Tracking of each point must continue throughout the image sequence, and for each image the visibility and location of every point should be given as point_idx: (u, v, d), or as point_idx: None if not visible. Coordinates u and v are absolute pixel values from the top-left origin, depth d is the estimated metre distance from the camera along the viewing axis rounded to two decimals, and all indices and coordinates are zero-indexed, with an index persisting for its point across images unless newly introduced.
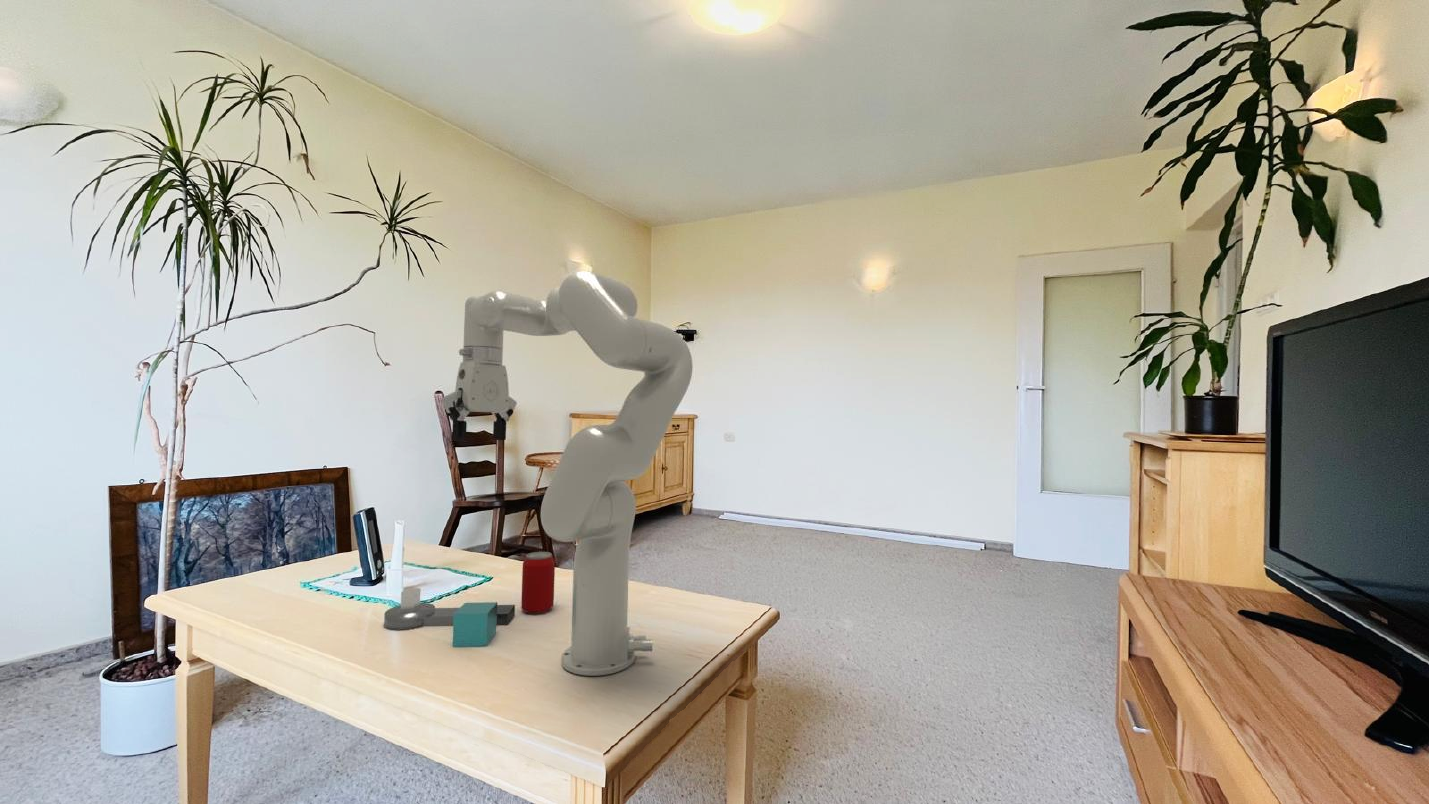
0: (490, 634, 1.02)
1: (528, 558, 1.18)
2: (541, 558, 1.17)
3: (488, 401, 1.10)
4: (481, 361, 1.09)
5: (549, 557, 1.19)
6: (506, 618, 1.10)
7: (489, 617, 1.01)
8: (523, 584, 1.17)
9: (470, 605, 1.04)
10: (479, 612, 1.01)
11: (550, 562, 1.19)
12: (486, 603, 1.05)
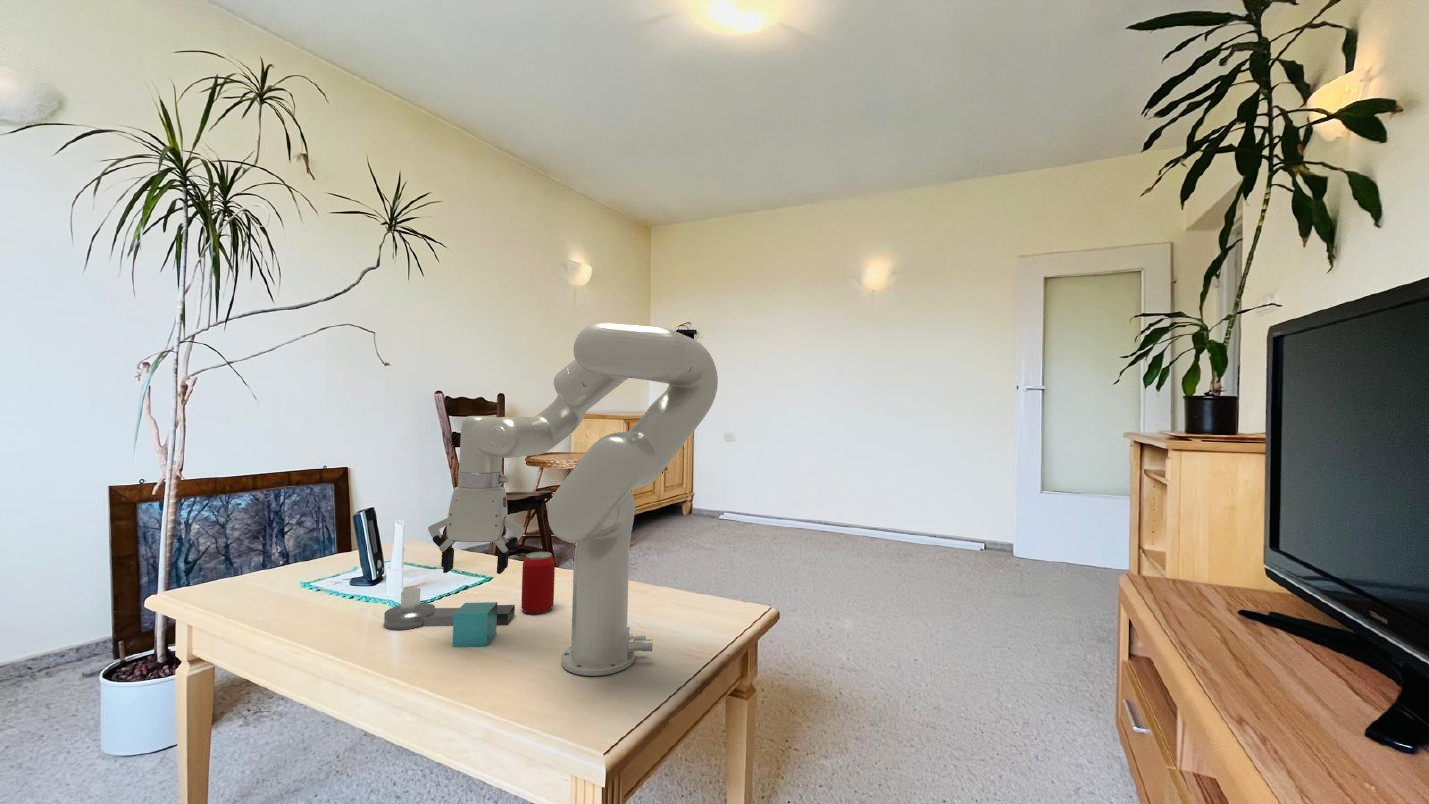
0: (490, 634, 1.02)
1: (528, 558, 1.18)
2: (541, 558, 1.17)
3: None
4: None
5: (549, 557, 1.19)
6: (506, 618, 1.10)
7: (489, 617, 1.01)
8: (523, 584, 1.17)
9: (470, 605, 1.04)
10: (479, 612, 1.01)
11: (550, 562, 1.19)
12: (486, 603, 1.05)
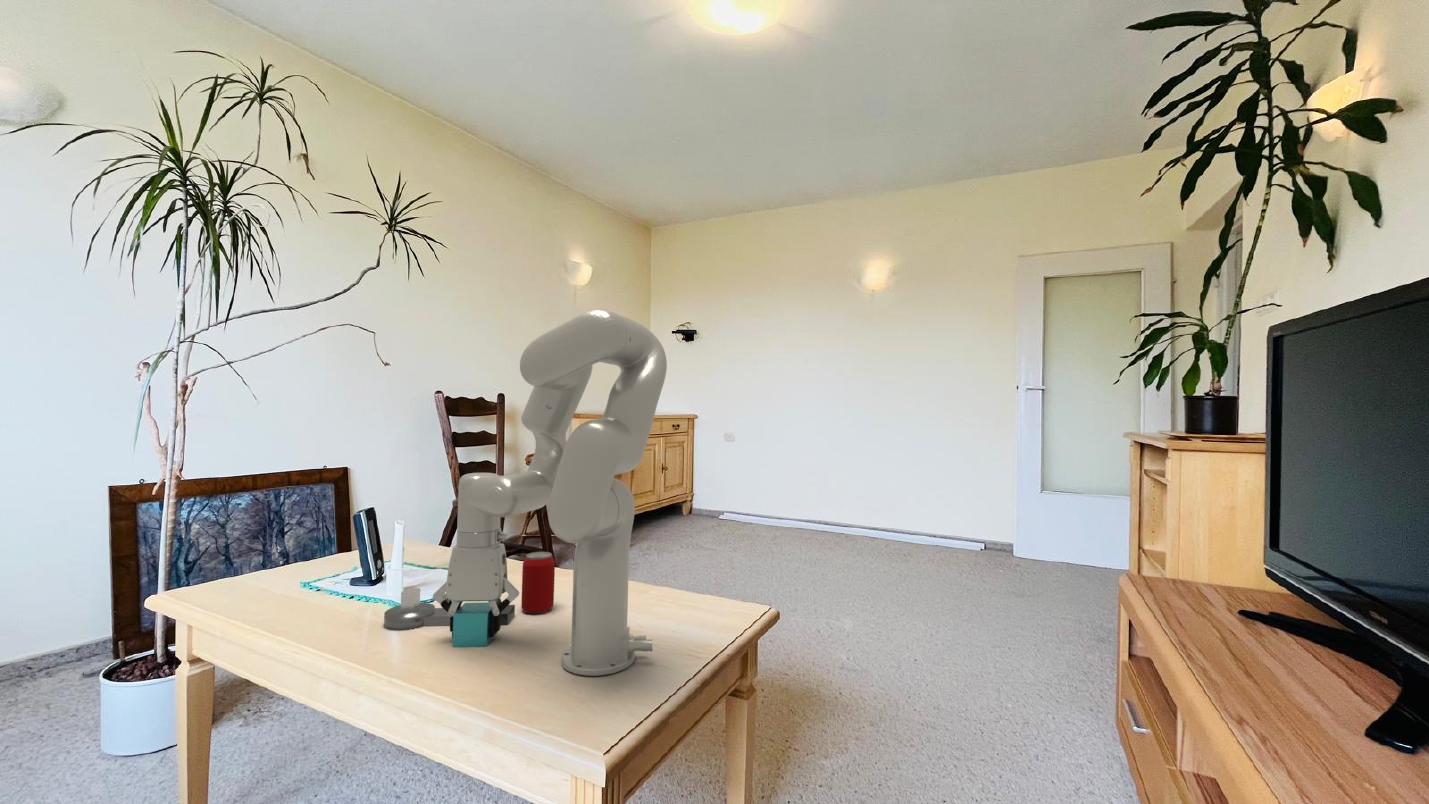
0: None
1: (528, 558, 1.18)
2: (541, 558, 1.17)
3: None
4: None
5: (549, 557, 1.19)
6: (506, 618, 1.10)
7: (489, 617, 1.01)
8: (523, 584, 1.17)
9: (470, 605, 1.04)
10: (479, 612, 1.01)
11: (550, 562, 1.19)
12: (486, 603, 1.05)
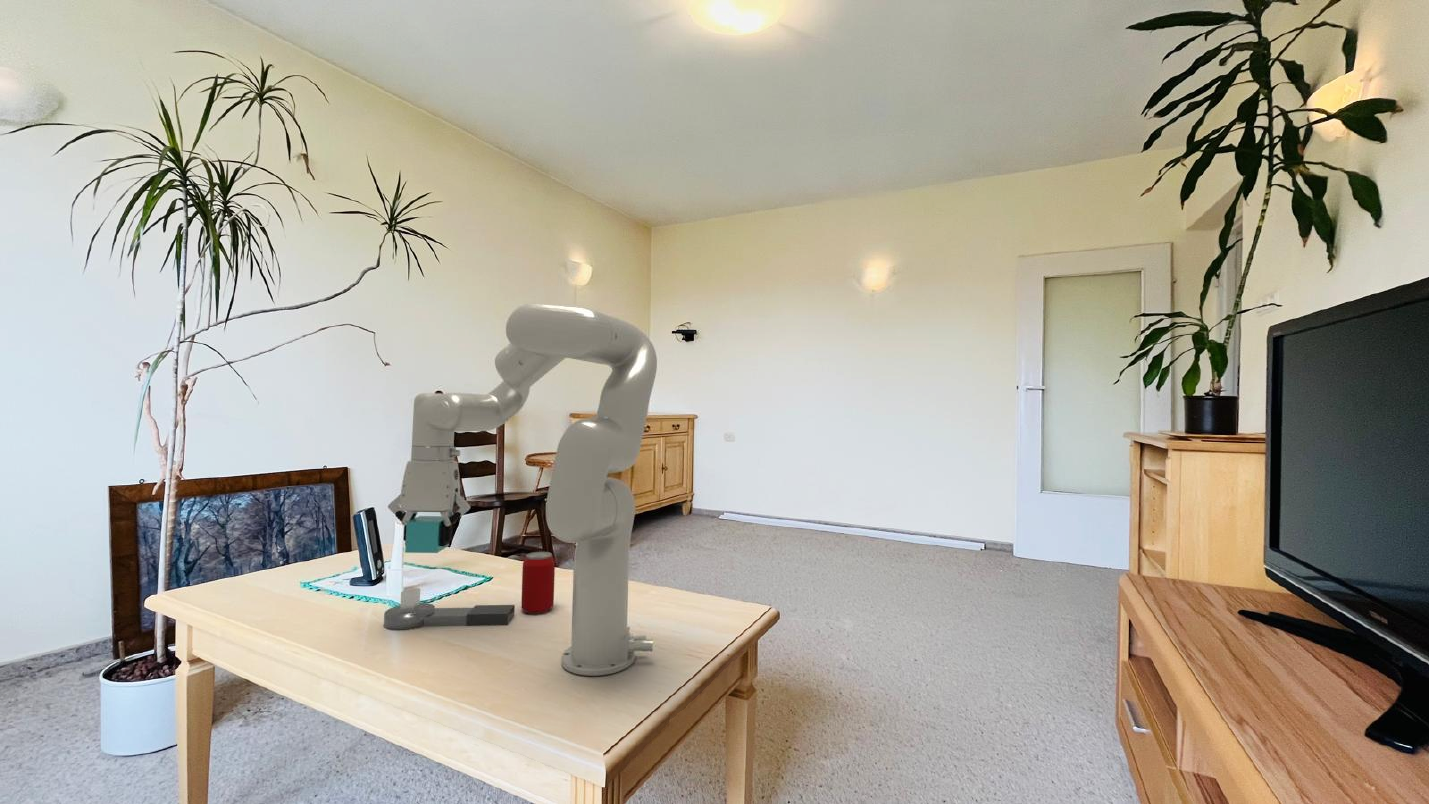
0: None
1: (528, 558, 1.18)
2: (541, 558, 1.17)
3: None
4: None
5: (549, 557, 1.19)
6: (506, 618, 1.10)
7: (440, 527, 1.08)
8: (523, 584, 1.17)
9: (424, 517, 1.11)
10: (431, 521, 1.07)
11: (550, 562, 1.19)
12: (440, 517, 1.12)
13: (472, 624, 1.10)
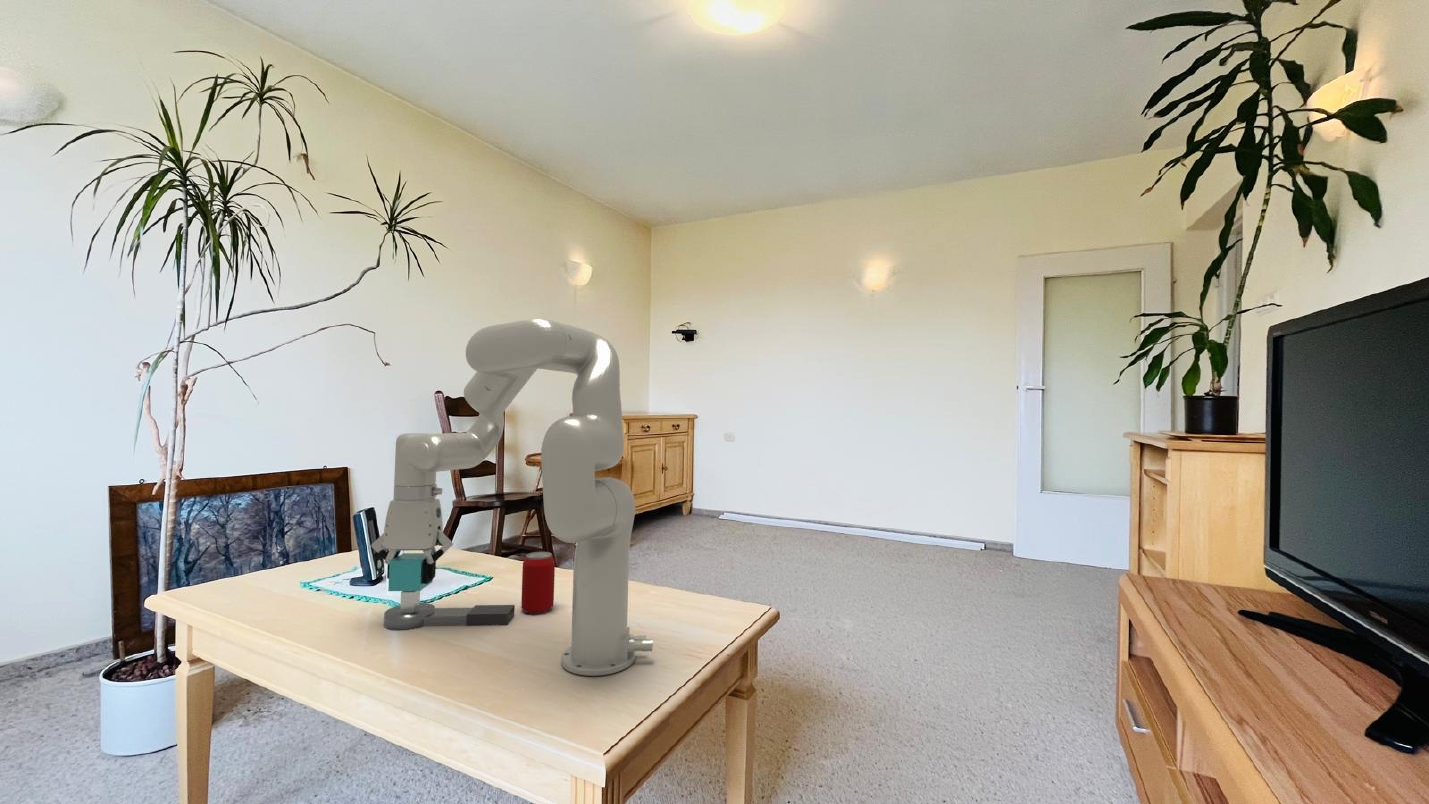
0: None
1: (528, 558, 1.18)
2: (541, 558, 1.17)
3: None
4: None
5: (549, 557, 1.19)
6: (506, 618, 1.10)
7: (423, 565, 1.10)
8: (523, 584, 1.17)
9: (407, 555, 1.13)
10: (414, 559, 1.09)
11: (550, 562, 1.19)
12: (423, 554, 1.14)
13: (472, 624, 1.10)
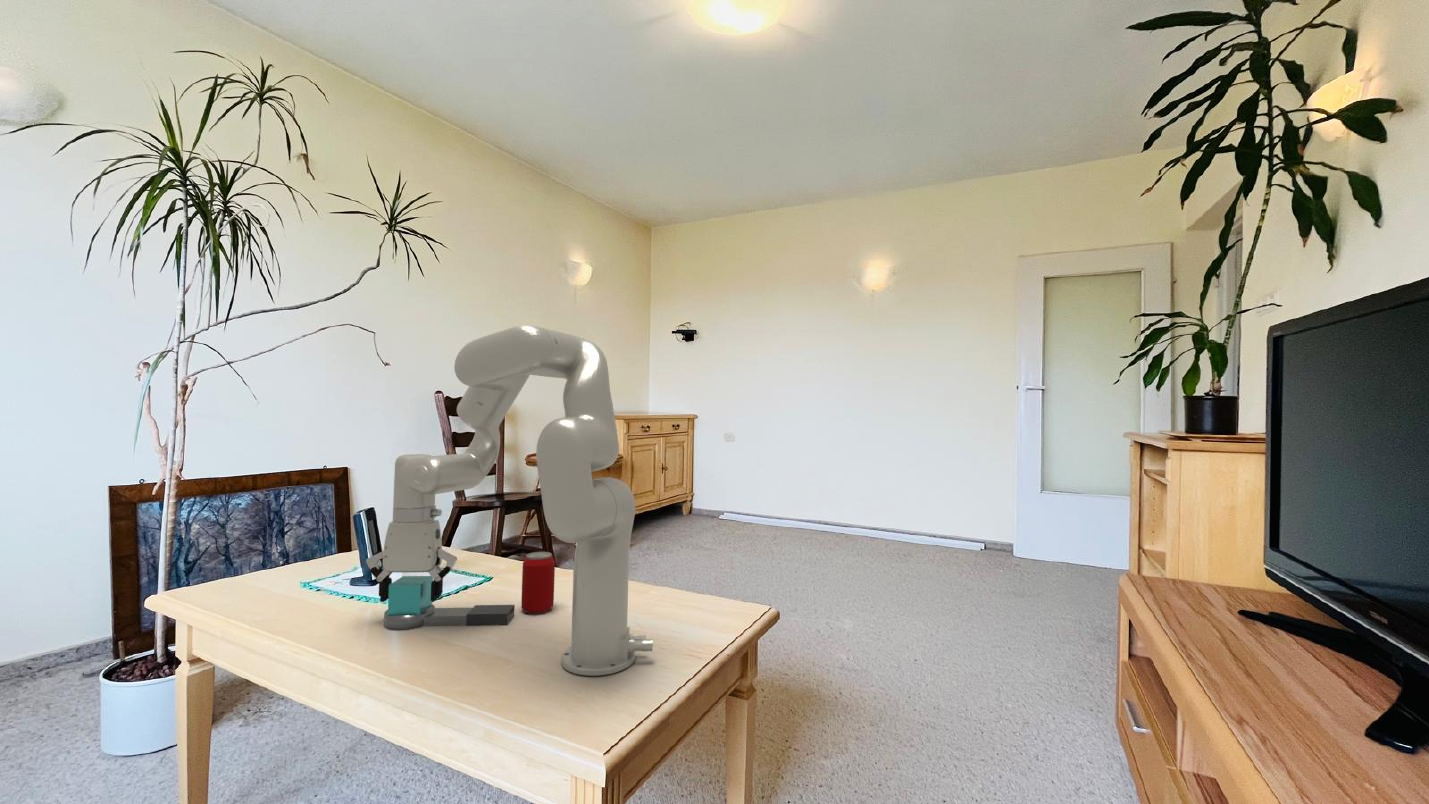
0: (424, 605, 1.10)
1: (528, 558, 1.18)
2: (541, 558, 1.17)
3: None
4: None
5: (549, 557, 1.19)
6: (506, 618, 1.10)
7: (423, 588, 1.10)
8: (523, 584, 1.17)
9: (407, 578, 1.12)
10: (413, 583, 1.09)
11: (550, 562, 1.19)
12: (422, 577, 1.13)
13: (472, 624, 1.10)
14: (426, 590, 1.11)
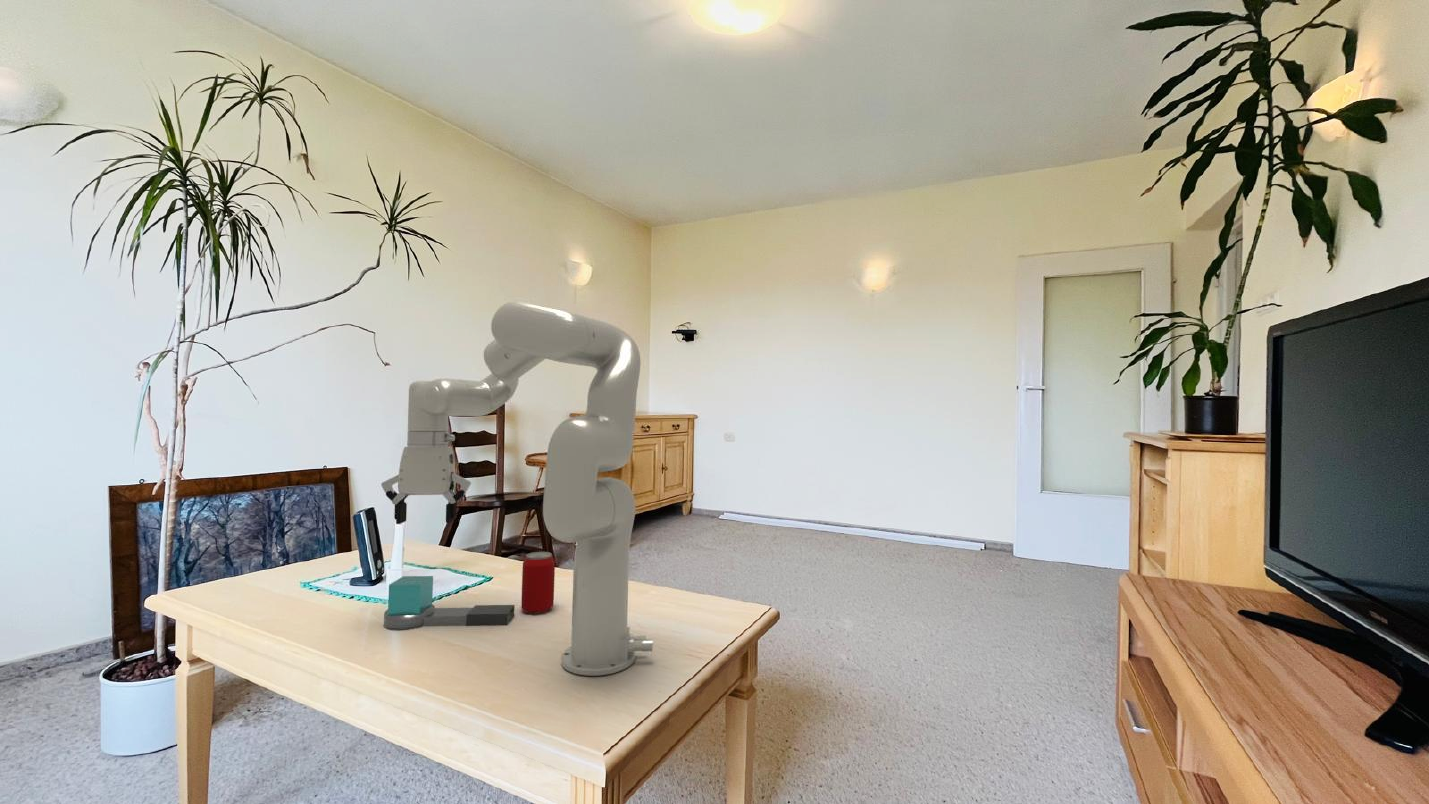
0: (424, 605, 1.11)
1: (528, 558, 1.18)
2: (541, 558, 1.17)
3: None
4: None
5: (549, 557, 1.19)
6: (506, 618, 1.10)
7: (423, 588, 1.10)
8: (523, 584, 1.17)
9: (407, 578, 1.13)
10: (413, 583, 1.09)
11: (550, 562, 1.19)
12: (422, 577, 1.14)
13: (472, 624, 1.10)
14: (426, 590, 1.11)
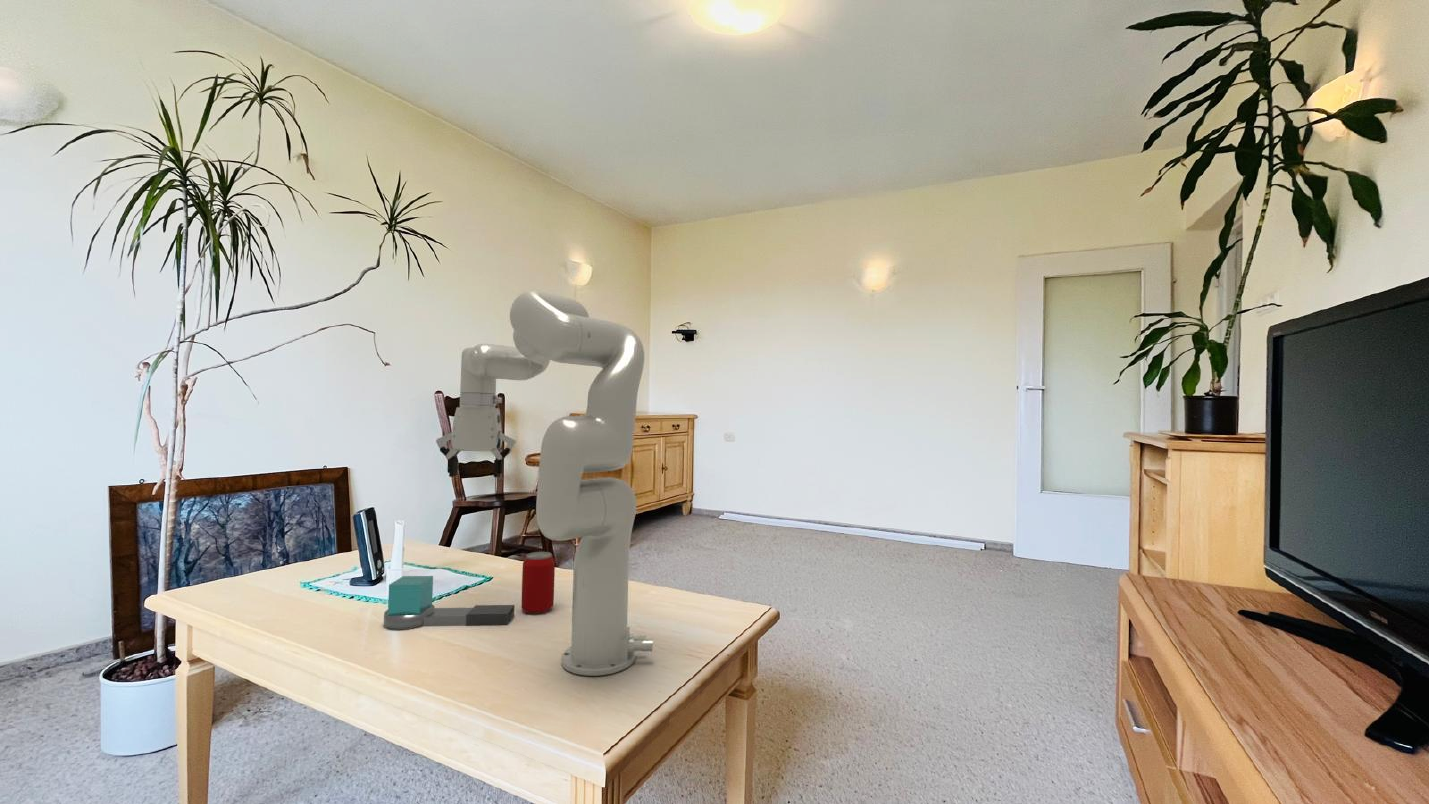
0: (424, 605, 1.11)
1: (528, 558, 1.18)
2: (541, 558, 1.17)
3: None
4: None
5: (549, 557, 1.19)
6: (505, 618, 1.10)
7: (423, 588, 1.10)
8: (523, 584, 1.17)
9: (407, 578, 1.13)
10: (413, 583, 1.09)
11: (550, 562, 1.19)
12: (422, 577, 1.14)
13: (472, 624, 1.10)
14: (426, 590, 1.11)
